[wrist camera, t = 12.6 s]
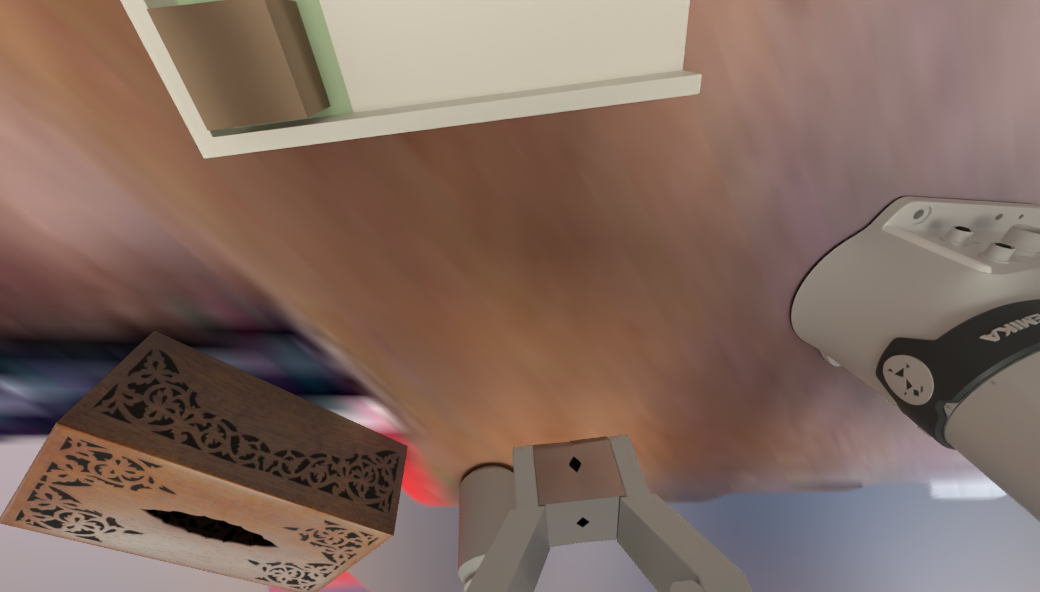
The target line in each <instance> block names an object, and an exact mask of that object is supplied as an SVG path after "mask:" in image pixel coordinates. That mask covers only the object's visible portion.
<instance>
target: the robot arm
mask: <svg viewBox="0 0 1040 592" xmlns="http://www.w3.org/2000/svg"><path fill="white" fill-rule="evenodd" d="M791 321H792V326H793V329H794V331H795V333H796V334H797V335H798V336H799V337H800V338H801V339H802V340H803V341H805V342H806V343H808V344H810V345H812V346H814V347H815V348H817V349H819V350H820V352H821V354H822V356H823V358H824V359H825V360H826V361H828V362H829V363H830V364H832V365H833V366H842V367H843V368H845V369H846V370H847V371H849V372H850V373H851V374H853V375H854V376H856V377H857V378H858V379H860V380H861V381H862V382H864V383H865V384H866V385H868V386H869V387H870V388H872V389H873V390H875V391H876V392H877V393H879V394H880V395H881V396H883V397H884V398H886V399H887V400H888V401H890V402H891V403H893V404H895V405H897V406H898V407H899V409H900V410H901V411H902V412H903V413H904V414H905V415H907V416H908V417H909V418H910V419H911V420H912V421H913V422H915V423H916V424H917V425H918V428H920V429H921V430H922V431H923V432H924V433H925V434H927V435H929V436H931V437H933V438H934V439H935V440H936V441H937V442H939V443H940V444H941V445H943V446H944V447H947V448H950V449H954V450H957V451H958V452H959V453H960V454H962V455H963V456H964V457H965V458H966V459H967V460H969V461H970V462H971V463H972V464H973V465H974V466H975V467H977V468H978V469H979V470H980V471H981V472H982V473H984V474H985V475H986V476H987V477H988V478H989V479H990V480H992V481H993V482H994V483H995V484H996V485H997V486H999V487H1000V488H1001V489H1002V490H1003V491H1004V492H1005V493H1007V494H1008V495H1009V496H1010V497H1011V498H1013V499H1014V500H1015V501H1016V502H1017V503H1018V504H1019V505H1021V506H1022V507H1023V508H1024V509H1025V510H1026V511H1027V512H1029V513H1030V514H1031V515H1032V516H1034V517H1035V518H1036V519H1037V520H1038V521H1039V522H1040V206H1038V205H1034V204H1024V203H1008V202H991V201H975V200H959V199H943V198H927V197H910V196H908V197H902V198H900V199H898V200H896V201H895V202H893V203H892V204H891V205H890V206H888V207H887V208H886V209H885V210H884V211H883V212H882V213H881V214H880V215H879V216H878V217H877V218H876V219H875V220H874V221H873V222H872V223H871V224H870V225H869V226H868V227H867V228H865V229H864V230H863V231H861V232H860V233H858V234H856V235H855V236H853V237H852V238H850V239H848V240H847V241H845V242H844V243H842V244H841V245H839V246H838V247H837V248H835V249H834V250H833V251H832V252H830V253H829V254H828V255H827V256H826V257H825V258H823V259H822V260H821V261H820V262H819V263H818V264H817V265H816V267H815V268H814V269H813V270H812V271H811V272H810V274H809V275H808V276H807V277H806V279H805V280H804V282H803V283H802V285H801V287H800V289H799V290H798V292H797V295H796V297H795V300H794V303H793V306H792V312H791ZM533 453H534V455H533ZM513 468H514V486H515V505H516V509H513V510H510V511H509V513H508V514H507V516H506V518H505V520H504V522H503V524H502V526H501V527H500V529H499V531H498V533H497V535H496V537H495V538H494V540H493V542H492V544H491V546H490V548H489V550H488V551H487V553H486V555H485V557H484V559H483V561H482V562H481V564H480V566H479V568H478V570H477V572H476V574H475V575H474V577H473V579H472V581H471V583H470V585H469V586H468V588H467V590H466V592H534V590H535V587H536V584H537V582H538V579H539V577H540V574H541V571H542V569H543V566H544V563H545V561H546V558H547V555H548V553H549V550H550V547H553V546H560V545H567V544H574V543H581V542H592V541H604V540H616V539H617V542H618V543H619V544H620V545H621V547H622V548H623V549H624V550H625V552H626V553H627V554H628V555H629V557H631V559H632V560H633V561H634V563H635V564H636V565H637V566H638V568H639V569H640V570H641V571H642V573H643V574H644V575H645V576H646V577H647V579H648V580H649V581H650V582H651V584H652V585H653V586H654V587H655V589H656V590H657V591H658V592H752V589H751V587H750V585H749V583H748V581H747V579H746V577H745V575H744V573H743V572H742V571H741V570H740V569H739V568H738V567H737V566H735V565H734V564H733V563H732V562H731V561H730V560H729V559H727V557H725V556H724V555H723V554H722V553H721V552H720V551H719V550H718V549H716V548H715V547H714V546H713V545H712V544H711V543H710V542H709V541H708V540H706V539H705V538H704V537H703V536H702V535H701V534H700V533H699V532H698V531H697V530H696V529H694V528H693V527H692V526H691V525H690V524H689V523H688V522H687V521H685V520H684V519H683V518H682V517H681V516H680V515H679V514H678V513H677V512H676V511H674V510H673V509H672V508H671V507H670V506H669V505H668V504H667V503H666V502H664V501H663V500H662V499H661V498H660V497H659V496H658V495H657V494H649V491H648V488H647V485H646V482H645V480H644V477H643V474H642V471H641V468H640V466H639V463H638V460H637V457H636V454H635V452H634V449H633V446H632V443H631V440H630V438H629V437H628V436H627V435H618V436H611V437H607V436H605V437H598V438H590V439H582V440H574V441H570V442H562V443H551V444H539V445H533V447H532V445H528V446H519V447H513Z"/></svg>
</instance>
